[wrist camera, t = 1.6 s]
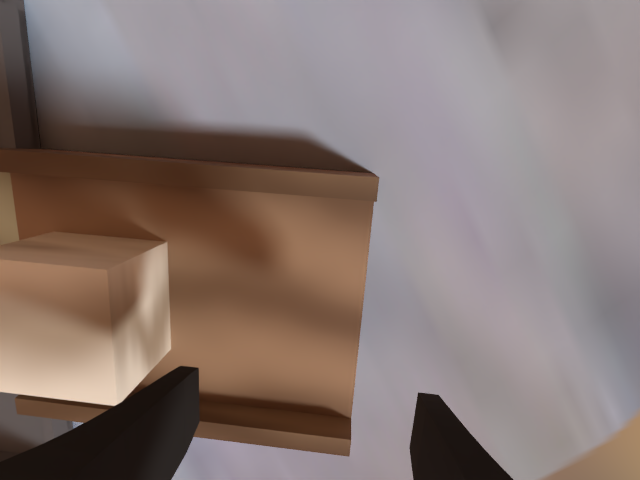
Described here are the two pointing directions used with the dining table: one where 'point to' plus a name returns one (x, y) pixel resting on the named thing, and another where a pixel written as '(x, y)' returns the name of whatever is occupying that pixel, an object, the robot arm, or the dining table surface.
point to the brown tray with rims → (224, 279)
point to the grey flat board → (20, 133)
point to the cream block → (82, 315)
